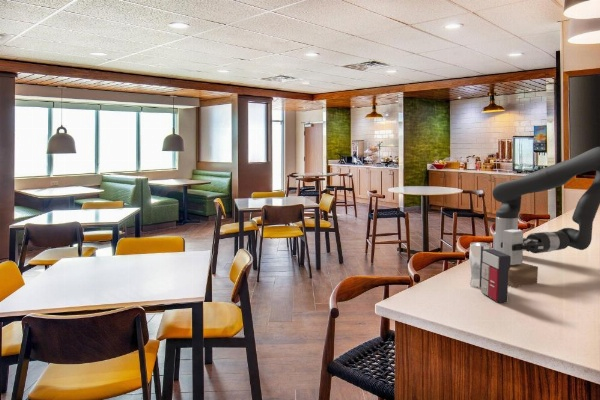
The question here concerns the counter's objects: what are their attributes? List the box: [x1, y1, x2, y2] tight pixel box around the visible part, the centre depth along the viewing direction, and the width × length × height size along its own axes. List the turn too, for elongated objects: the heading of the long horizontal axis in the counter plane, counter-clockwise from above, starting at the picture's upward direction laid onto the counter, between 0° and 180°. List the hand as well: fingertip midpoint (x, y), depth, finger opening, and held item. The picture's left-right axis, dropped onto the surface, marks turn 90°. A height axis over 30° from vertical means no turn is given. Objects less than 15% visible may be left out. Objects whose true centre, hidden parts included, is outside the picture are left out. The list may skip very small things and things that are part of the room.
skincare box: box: [503, 229, 524, 265], centre depth 168 cm, size 6×4×12 cm
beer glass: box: [469, 241, 491, 289], centre depth 162 cm, size 7×7×15 cm
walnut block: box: [508, 262, 539, 288], centre depth 168 cm, size 12×12×6 cm
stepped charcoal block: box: [480, 248, 511, 304], centre depth 149 cm, size 11×4×15 cm, turn 5°
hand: (507, 246), depth 166 cm, fingers closed on skincare box, 4 cm apart
